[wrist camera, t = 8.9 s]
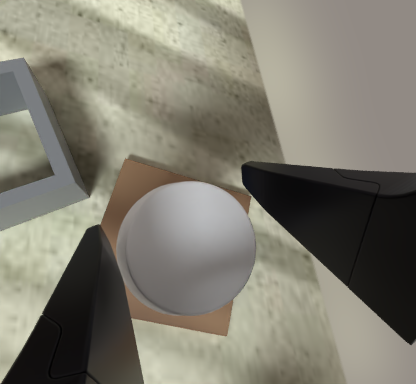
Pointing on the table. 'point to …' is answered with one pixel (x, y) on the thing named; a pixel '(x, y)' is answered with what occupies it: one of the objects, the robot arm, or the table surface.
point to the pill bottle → (186, 248)
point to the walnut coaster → (114, 215)
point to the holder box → (53, 145)
